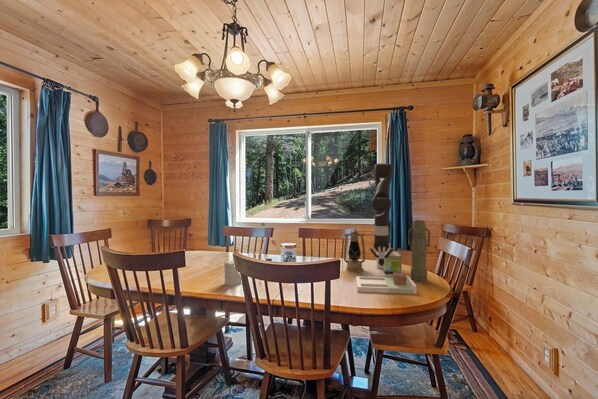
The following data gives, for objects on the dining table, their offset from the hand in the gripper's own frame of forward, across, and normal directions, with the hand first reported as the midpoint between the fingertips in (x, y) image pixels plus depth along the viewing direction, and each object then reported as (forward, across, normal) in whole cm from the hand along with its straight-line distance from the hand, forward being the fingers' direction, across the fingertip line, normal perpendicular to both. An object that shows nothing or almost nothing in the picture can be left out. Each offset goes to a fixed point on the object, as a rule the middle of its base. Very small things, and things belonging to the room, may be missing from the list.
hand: (381, 265), depth 163 cm
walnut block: (+9, -9, +1) cm, 13 cm away
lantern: (+13, +14, -36) cm, 40 cm away
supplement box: (+12, +83, +6) cm, 84 cm away
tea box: (+12, -8, -20) cm, 25 cm away
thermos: (+12, -24, -17) cm, 31 cm away
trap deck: (+12, -2, 0) cm, 12 cm away
